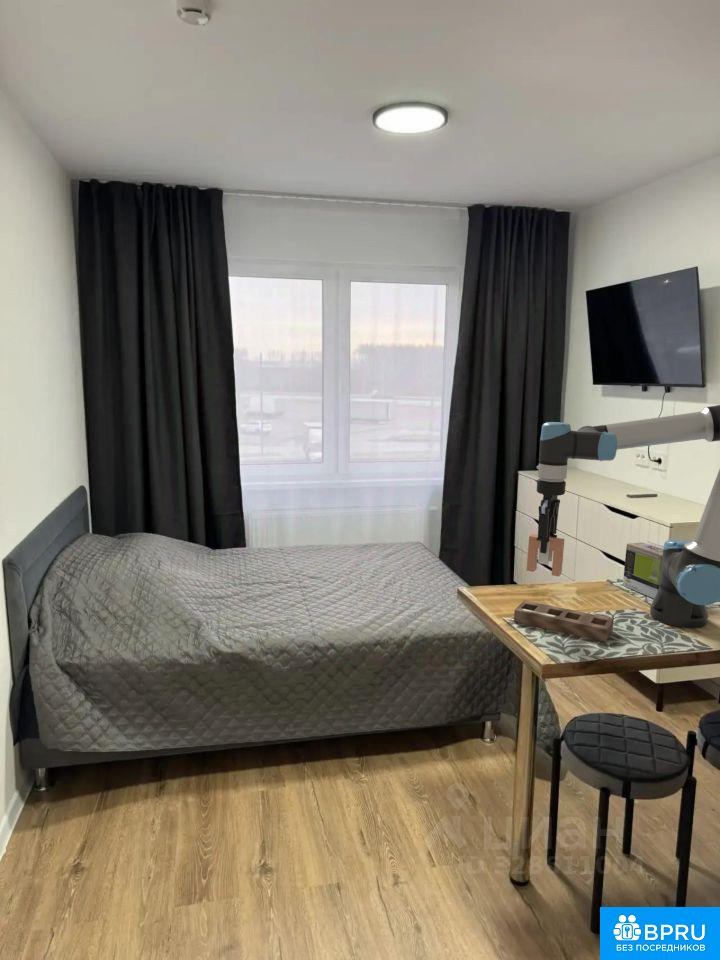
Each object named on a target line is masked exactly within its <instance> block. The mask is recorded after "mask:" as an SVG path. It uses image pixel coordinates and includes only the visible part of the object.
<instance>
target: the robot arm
mask: <svg viewBox="0 0 720 960" xmlns="http://www.w3.org/2000/svg"><path fill="white" fill-rule="evenodd" d="M571 427H572V426H571V424H570V423H567V422H559V421H547V422H545V423H543V424H542V425H541V433H540V437H539V451H538V452H539V454H538V455H539V457H538V465H536V467H535V468H536V469H537V477H538V479H537V481H536V492H537V493H538V494H540V495H542V496H543V497H542V499H541V500H540V505H539V506H538V508H537V509H538V527H537V535H538V538H537V540H538V541H540V543H539V548H538V558H537V564H540V565H549V563H550V562H553V551H552V550H550V541H549V538H550V537H555V538H558V535H557V533H558V532H557V529H558V519H559V508H560V503H561V500H560V498H558V497H559V496H564V495H565V494H566V485H567V484H566V483H567V482H566V481H565V480H567V474H568V460H569V459H571V460H585V461H586V460H588V461H589V460H590V461H600V462H603V461H604V462H607V461H609V462H610V461H614V460H615V458H616V455H617V452H618V450H625V449H635V448H642V447H643V448H644V447H649V446H659V445H665V444H673V443H675V444H676V443H681V442H683V443H684V442H689V441H697V440H705V441H707V442H709V443H710V442H711V443H713V442H720V404H717V405H712V406H711V405H710V406H706V407H704V408H702V409H701V411H695V412H687V413H682V414H681V413H680V414H673V415H666V416H660V417H653V418H643V419H638V420H637V419H636V420H630V421H623V422H621V421H620V422H615V423H614V422H613V423H609V424H602V425H594V426H592V425H584V426H581V427H579V428H578V429H577V430H573V429H572V428H571ZM663 546H664V548H663V556H662V566H661V575H660V585H659V590H658V592H657V594H656V596H655V598H653V600H652V603H651V604H650V607H649V614H650V616H651V618H653V619H655V620H656V621H658V622H661V623H663V624H666V625H669V626H674V627H679V628H692V629H694V628H701V627H705V626H706V625H707V624H708V620H709V619H708V618H709V614H708V610H707V606H708V605H713V604H715V603H717V602H720V468H719V469H718V472H717V475H716V477H715V481H714V483H713V485H712V488H711V491H710V494H709V496H708V499H707V501H706V505H705V507H704V510H703V511H702V515H701V518H700V520H699V523H698V526H697V529H696V531H695V533H694V536H693V539H692V540H690V539H688V540H686V539H668V540H667V539H666V540H665V541H664V544H663Z"/></svg>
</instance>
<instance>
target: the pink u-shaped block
mask: <svg viewBox="0 0 720 960" xmlns="http://www.w3.org/2000/svg"><path fill="white" fill-rule="evenodd" d="M537 538H538V534H534V533H532V534H530V535H529V536H528V546H527V560H526V571H528V572H531V573H532V572H533V573H534V572H535V571H536V570H537V569H538V556H539V543H540V541H538V540H537ZM549 541H550V550H552V551H553V554H552V564H551V566H552V567H551V576H554V577H560V576H561V575H562V574H563V561H564V551H565V550H564V549H565V538H560V537H557V538H555V537H550V538H549Z"/></svg>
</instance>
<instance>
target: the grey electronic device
mask: <svg viewBox="0 0 720 960" xmlns="http://www.w3.org/2000/svg"><path fill="white" fill-rule="evenodd" d="M663 548H664V545H660V544H657V543H655V542H650V541H642V542H632V543H631V542H630V543H626V548H625V558H624V571H623V579H622V581H623V582H622V586H624V587H626V588H628V589H631V590H633V591H635V592H638V593H640V594H642V595H645V596H647V597H650V598H651V599H654V598H655V596H656V594H657V592H658V590H659V585H660V575H661V566H662V556H663Z"/></svg>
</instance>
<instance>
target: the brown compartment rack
mask: <svg viewBox="0 0 720 960" xmlns="http://www.w3.org/2000/svg"><path fill="white" fill-rule="evenodd" d="M513 613H514V614H513V622H514V623H518V624H523V625H526V626H527V625H528V626H531V627H535V628H540V627H541V629H545V628H546V629H545V630H549V629H551V630H550V631H555V632H558V631H559V633H563V632H564V633H563V634H567V633H568V635H573V636H576V635H577V636H578V637H581V638H585V637H586V638H585V639H590V638H591V639H590V640H594V639H595V641H600V642H603V641H604V643H607V642H606V641H608V640H609V637H610V636H611V634H612V632H613V629H614V628H613V627H614V621H615V619H614V618H613V617H607V616H602V615H599V614H593V613H590V612H589V613H588V612H583V611H579V610H578V611H577V610H574V609H568V608H563V607H560V606H559V607H558V606H554V605H550V604H549V605H548V604H544V603H540V602H535V601H534V602H533V601H529V600H523V601H522V602H521V603H519V605H518V606H517V607H516V608H515V609H514V611H513ZM607 639H608V640H607Z"/></svg>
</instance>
